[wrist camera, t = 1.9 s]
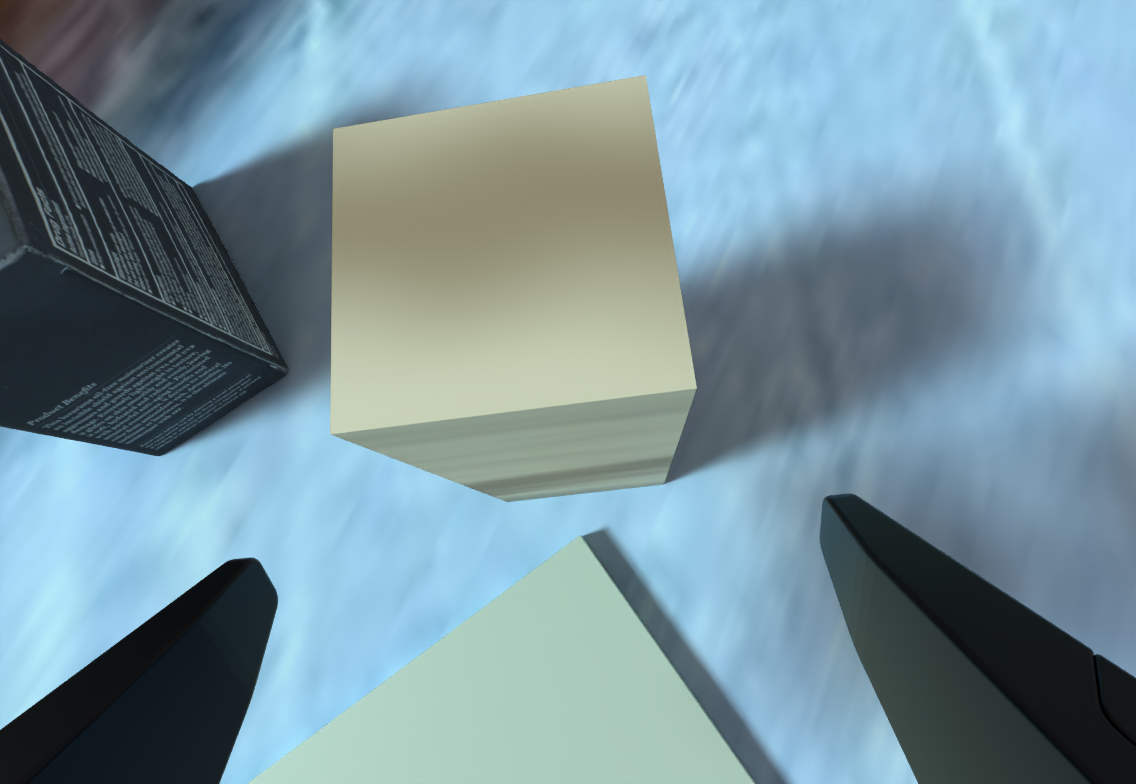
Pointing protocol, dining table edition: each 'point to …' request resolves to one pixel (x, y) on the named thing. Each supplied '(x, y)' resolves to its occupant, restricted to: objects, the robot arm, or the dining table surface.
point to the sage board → (528, 700)
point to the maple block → (510, 294)
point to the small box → (111, 284)
